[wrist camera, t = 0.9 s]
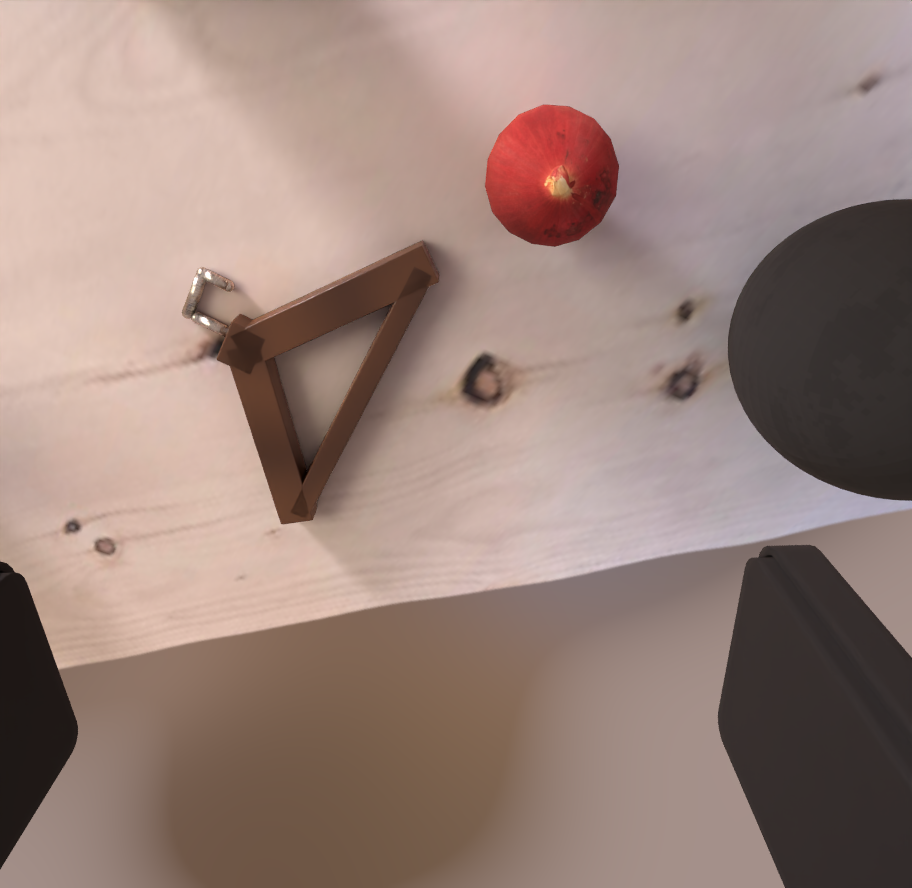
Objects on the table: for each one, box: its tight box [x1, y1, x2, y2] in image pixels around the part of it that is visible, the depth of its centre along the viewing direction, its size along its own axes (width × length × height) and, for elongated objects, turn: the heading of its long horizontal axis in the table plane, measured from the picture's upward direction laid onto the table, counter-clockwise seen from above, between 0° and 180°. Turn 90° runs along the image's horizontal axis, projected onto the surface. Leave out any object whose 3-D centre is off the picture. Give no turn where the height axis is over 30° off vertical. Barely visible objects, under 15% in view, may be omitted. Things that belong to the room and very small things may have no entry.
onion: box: [485, 105, 619, 247], centre depth 30 cm, size 6×6×8 cm
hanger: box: [182, 240, 439, 524], centre depth 37 cm, size 11×19×2 cm, turn 152°
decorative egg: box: [728, 199, 912, 501], centre depth 30 cm, size 12×12×15 cm
